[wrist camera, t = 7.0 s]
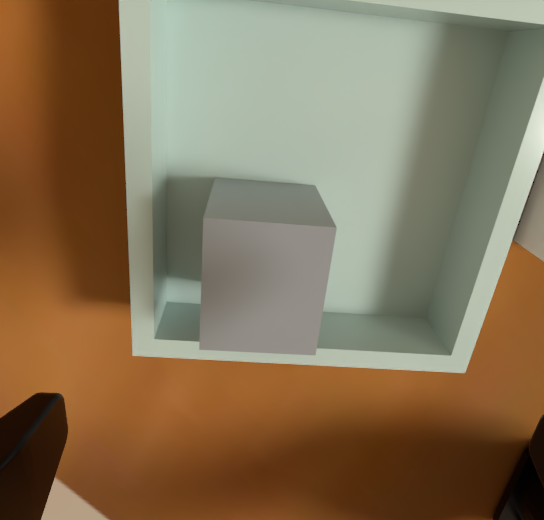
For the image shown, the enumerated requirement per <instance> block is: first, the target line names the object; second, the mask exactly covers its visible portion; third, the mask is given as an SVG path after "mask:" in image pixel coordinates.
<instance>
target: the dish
mask: <svg viewBox="0 0 544 520" xmlns="http://www.w3.org/2000/svg"><path fill="white" fill-rule="evenodd" d="M119 21H120V46H121V72H122V97H123V122H124V148H125V173H126V199H127V224H128V249H129V275H130V300H131V326H132V351H133V356H147V357H166V358H186V359H205V360H224V361H243V362H262V363H281V364H300V365H319V366H339V367H358V368H377V369H396V370H415V371H434V372H453V373H465V372H466V369H467V366H468V363H469V361H470V358H471V355H472V352H473V349H474V346H475V344H476V341H477V338H478V335H479V332H480V330H481V327H482V324H483V321H484V318H485V315H486V313H487V310H488V307H489V304H490V301H491V299H492V296H493V293H494V290H495V287H496V285H497V282H498V279H499V276H500V273H501V270H502V268H503V265H504V262H505V259H506V256H507V254H508V251H509V248H510V245H511V242H512V239H513V237H514V234H515V231H516V228H517V225H518V223H519V220H520V217H521V214H522V211H523V209H524V206H525V203H526V200H527V197H528V194H529V192H530V189H531V186H532V183H533V180H534V178H535V175H536V172H537V169H538V166H539V164H540V161H541V158H542V155H543V152H544V0H119ZM215 177H221V178H233V179H245V180H258V181H270V182H282V183H294V184H306V185H315V186H316V188H317V190H318V192H319V194H320V196H321V198H322V200H323V202H324V204H325V205H326V207H327V209H328V211H329V213H330V215H331V217H332V219H333V221H334V223H335V225H336V227H337V230H336V236H335V242H334V248H333V254H332V260H331V266H330V272H329V278H328V284H327V290H326V296H325V302H324V308H323V314H322V320H321V326H320V332H319V338H318V344H317V349H316V355H295V354H275V353H255V352H234V351H214V350H199V339H200V307H201V275H202V243H203V217H204V214H205V210H206V207H207V203H208V200H209V196H210V193H211V190H212V186H213V183H214V179H215Z"/></svg>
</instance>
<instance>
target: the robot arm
mask: <svg viewBox="0 0 544 520" xmlns="http://www.w3.org/2000/svg"><path fill="white" fill-rule="evenodd" d="M67 435H68V424H67V417H66V410H65V402H64V398H63V396H62V395H61V394H59V393H37V394H35V395H33V396H31V397H30V398H28V399H27V400H26V401H24V402H23V403H21V404H20V405H18V406H17V407H16V408H14V409H13V410H11V411H10V412H8V413H7V414H5V415H4V416H3V417H1V418H0V520H41V517H42V514H43V511H44V508H45V505H46V502H47V499H48V495H49V493H50V490H51V486H52V484H53V481H54V477H55V474H56V471H57V468H58V465H59V462H60V459H61V456H62V453H63V450H64V447H65V444H66V440H67ZM493 520H544V415H542V417H541V418H540V420H539V423H538V425H537V427H536V429H535V431H534V433H533V436H532V438H531V440H530V443H529V447H528V448H527V449H526V450H525V451H524V453H523V455H522V457H521V459H520V461H519V463H518V465H517V468H516V470H515V472H514V474H513V476H512V478H511V480H510V483H509V485H508V487H507V489H506V491H505V493H504V495H503V497H502V500H501V502H500V504H499V506H498V508H497V510H496V512H495V514H494V517H493Z"/></svg>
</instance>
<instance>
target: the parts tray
mask: <svg viewBox="0 0 544 520" xmlns="http://www.w3.org/2000/svg"><path fill="white" fill-rule="evenodd" d="M513 241H515V242H516V243H518V244H519V245H521V246H522V247H524V248H525V249H526V250H528V251H529V252H531V253H532V254H534V255H535V256H537V257H538V258H539V259H541V260H542V261H544V156H543V159H542V162H541V165H540V167H539V170H538V173H537V176H536V179H535V181H534V184H533V187H532V190H531V193H530V195H529V198H528V201H527V204H526V207H525V209H524V212H523V215H522V218H521V221H520V224H519V226H518V229H517V232H516V235H515V238H514V240H513Z"/></svg>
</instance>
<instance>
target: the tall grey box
mask: <svg viewBox="0 0 544 520" xmlns="http://www.w3.org/2000/svg"><path fill="white" fill-rule="evenodd" d="M336 230H337V227H336V225H335V223H334V221H333V219H332V217H331V215H330V213H329V211H328V209H327V207H326V205H325V204H324V202H323V200H322V198H321V196H320V194H319V192H318V190H317V188H316V186H315V185H306V184H294V183H282V182H270V181H258V180H245V179H233V178H221V177H215V179H214V183H213V186H212V190H211V193H210V196H209V200H208V203H207V207H206V210H205V214H204V217H203V243H202V275H201V307H200V339H199V350H214V351H234V352H255V353H275V354H295V355H316V349H317V344H318V338H319V332H320V326H321V320H322V314H323V308H324V302H325V296H326V290H327V284H328V278H329V272H330V266H331V260H332V254H333V248H334V242H335V236H336Z"/></svg>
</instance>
